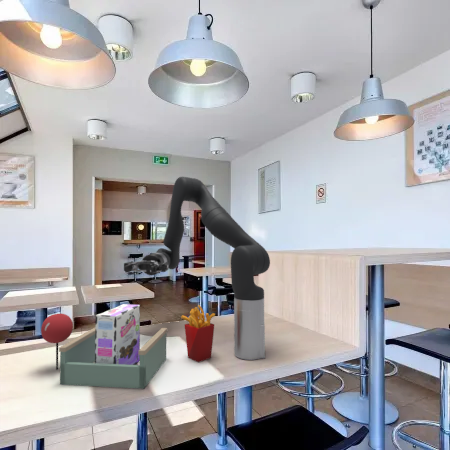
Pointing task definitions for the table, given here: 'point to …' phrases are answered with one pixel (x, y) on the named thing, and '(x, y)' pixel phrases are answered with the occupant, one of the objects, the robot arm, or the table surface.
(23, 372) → the table surface
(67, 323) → the lollipop
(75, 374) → the low partition wall
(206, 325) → the french fries
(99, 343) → the candy box
